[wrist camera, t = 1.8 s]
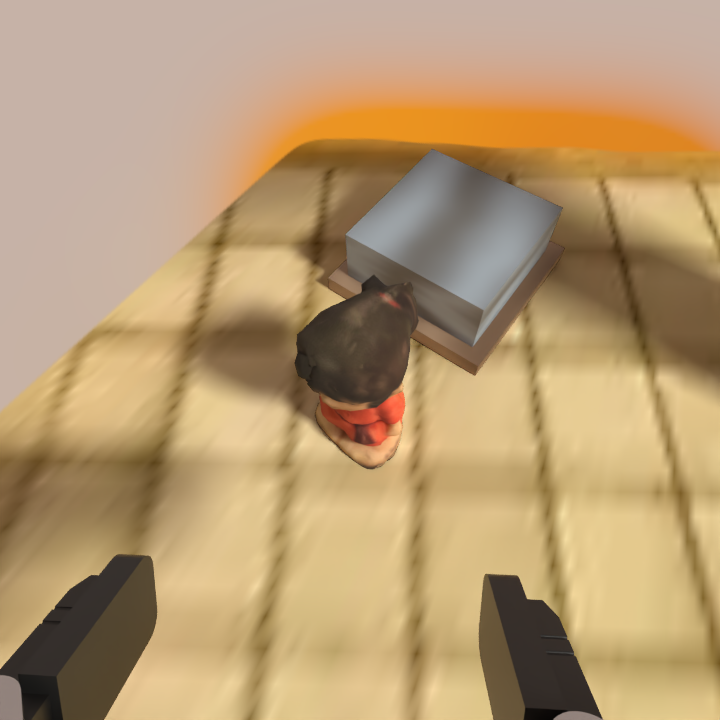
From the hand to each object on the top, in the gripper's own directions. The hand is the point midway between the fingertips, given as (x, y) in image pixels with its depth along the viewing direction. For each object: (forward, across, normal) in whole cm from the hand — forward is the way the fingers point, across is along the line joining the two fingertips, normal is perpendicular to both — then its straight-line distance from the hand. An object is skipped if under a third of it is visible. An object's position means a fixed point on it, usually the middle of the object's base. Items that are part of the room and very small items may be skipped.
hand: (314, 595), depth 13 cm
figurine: (+20, 0, +3) cm, 20 cm away
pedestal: (+28, -6, -5) cm, 29 cm away
